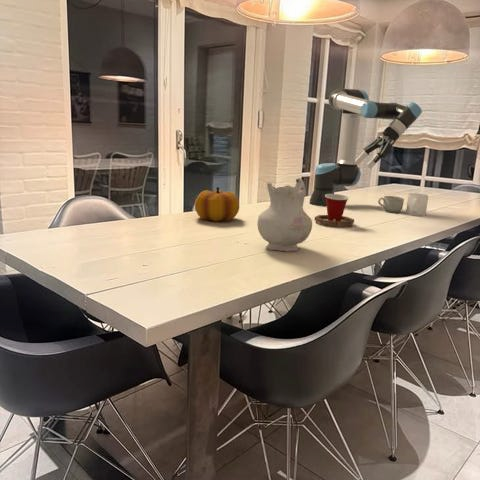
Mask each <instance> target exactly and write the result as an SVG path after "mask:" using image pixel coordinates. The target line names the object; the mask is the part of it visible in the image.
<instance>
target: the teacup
mask: <svg viewBox="0 0 480 480" xmlns="http://www.w3.org/2000/svg"><path fill="white" fill-rule="evenodd" d="M381 200H382V201H383V203H381ZM404 201H405V198H403V197H400V196H396V195H395V196H394V195H385V196H384V197H379V198H378V200H377V203H378V204H379V206H381V207H382V208H383V210H385V212H387V213H393V214H394V213H397V214H398V213H399V212H400V211H402V210H403V208H404V207H403V206H404V203H405V202H404Z"/></svg>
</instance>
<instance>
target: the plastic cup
mask: <svg viewBox="0 0 480 480" xmlns="http://www.w3.org/2000/svg"><path fill="white" fill-rule="evenodd" d="M325 197H326V202H327V206H326V211H327V212H326V215H328V220H329V221H333V220H334V219H336V221H337V222H338V221H341V219H342V216H344V211H345V208H346V205H347V202H348V201H349V199H350V197H349V196H347V195H344V194H339V193H334V194H326V195H325Z"/></svg>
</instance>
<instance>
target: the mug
mask: <svg viewBox="0 0 480 480" xmlns="http://www.w3.org/2000/svg"><path fill="white" fill-rule="evenodd" d="M428 200H429V195H428V194H424V193H416V192H415V193H412V192H411V193H408V195H407V202H406V209H405V210H406V211H405V213H406V214H407V215H411V216H417V217H418V216H419V217H425V216H426V215H427V208H428V202H429V201H428Z"/></svg>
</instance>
